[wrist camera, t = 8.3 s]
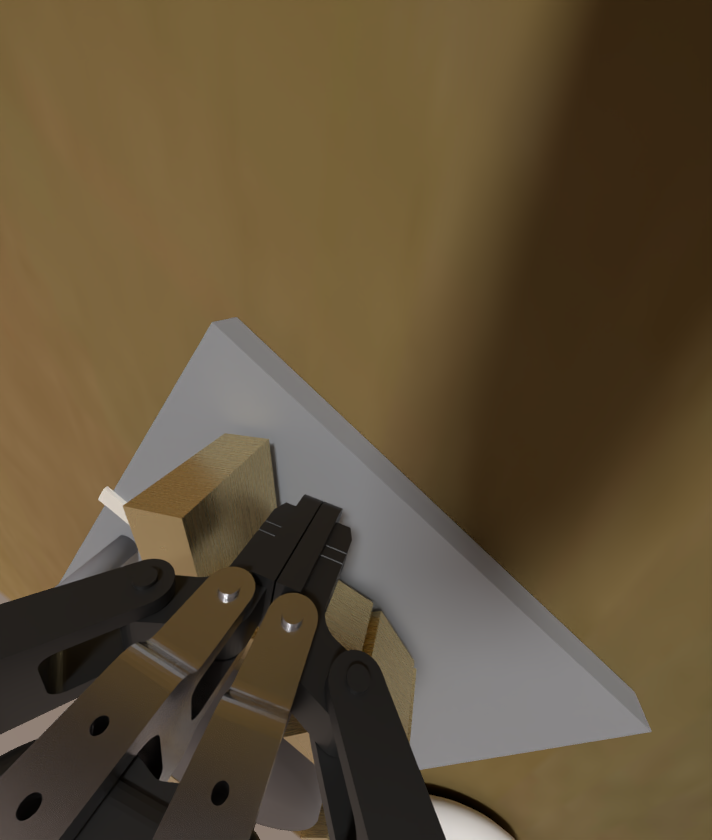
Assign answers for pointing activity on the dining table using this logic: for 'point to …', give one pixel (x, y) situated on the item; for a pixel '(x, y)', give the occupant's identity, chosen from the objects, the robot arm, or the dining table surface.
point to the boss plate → (378, 577)
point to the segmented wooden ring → (227, 536)
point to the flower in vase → (466, 822)
